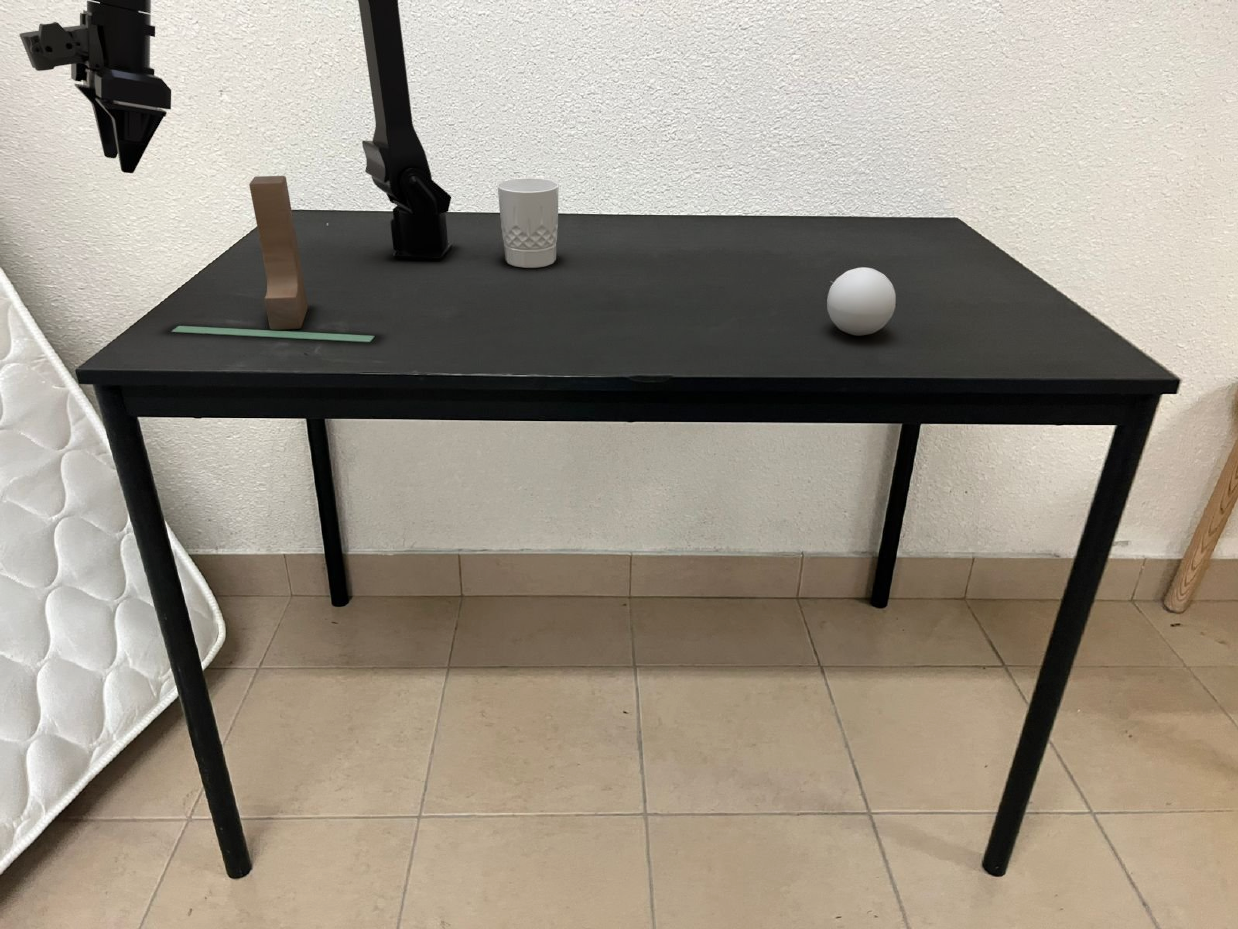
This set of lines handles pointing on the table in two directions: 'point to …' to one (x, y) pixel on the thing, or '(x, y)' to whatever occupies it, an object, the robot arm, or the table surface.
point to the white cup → (529, 220)
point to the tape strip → (273, 334)
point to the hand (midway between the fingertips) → (118, 164)
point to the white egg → (861, 301)
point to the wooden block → (279, 253)
